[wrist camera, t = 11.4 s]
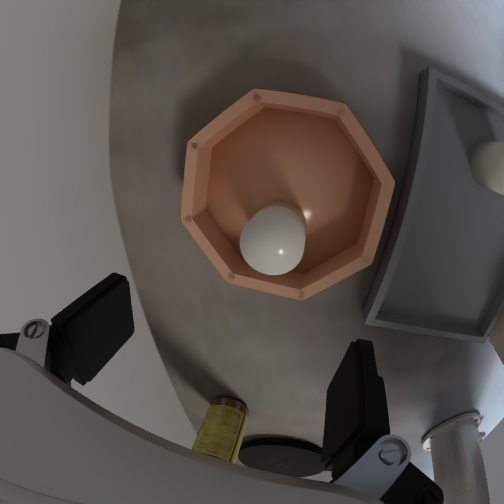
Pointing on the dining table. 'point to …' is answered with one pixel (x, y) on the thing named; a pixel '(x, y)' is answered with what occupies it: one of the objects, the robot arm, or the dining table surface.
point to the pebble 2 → (488, 165)
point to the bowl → (287, 187)
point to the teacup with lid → (498, 336)
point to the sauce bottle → (222, 429)
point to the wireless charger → (282, 456)
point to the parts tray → (444, 223)
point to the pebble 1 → (274, 238)
